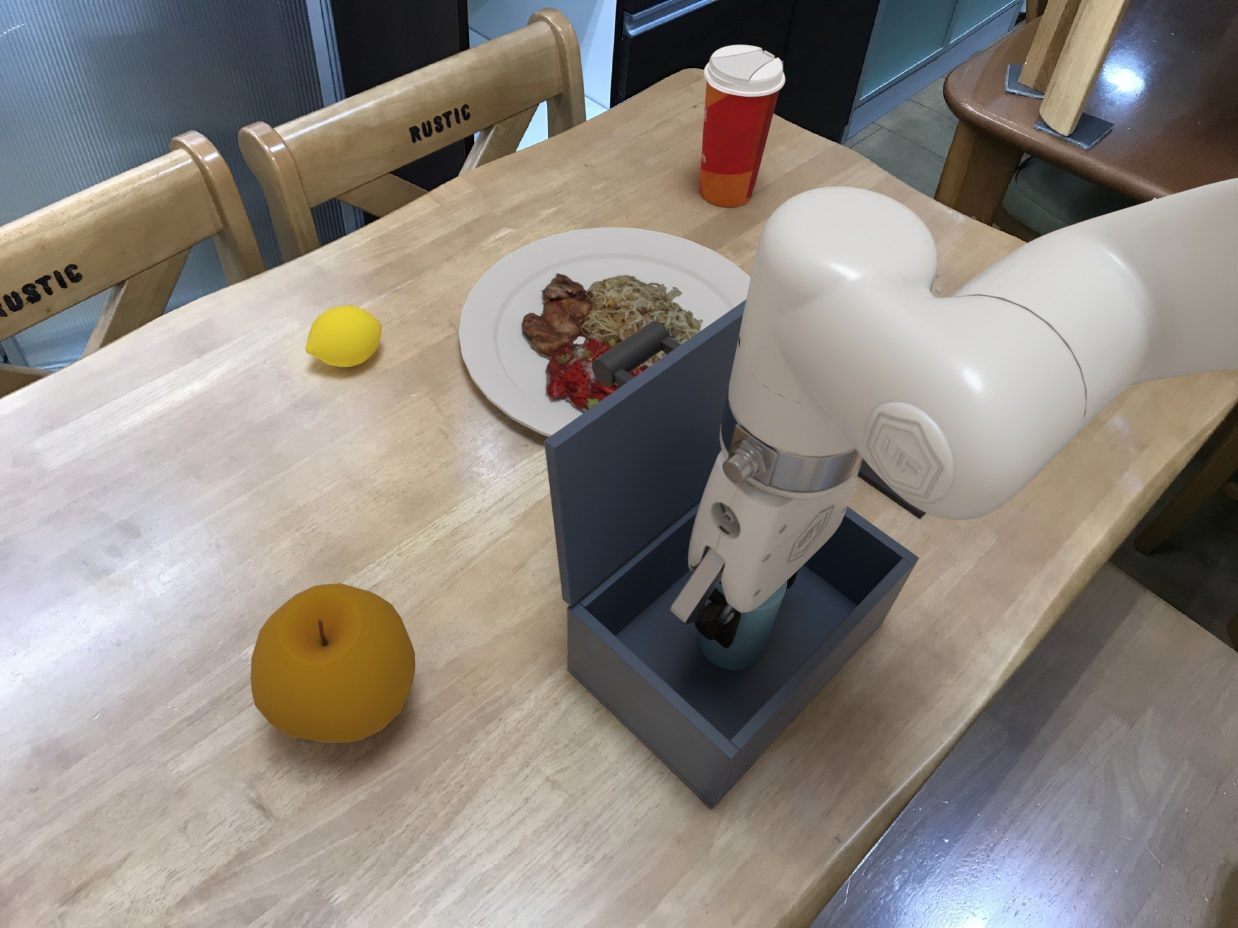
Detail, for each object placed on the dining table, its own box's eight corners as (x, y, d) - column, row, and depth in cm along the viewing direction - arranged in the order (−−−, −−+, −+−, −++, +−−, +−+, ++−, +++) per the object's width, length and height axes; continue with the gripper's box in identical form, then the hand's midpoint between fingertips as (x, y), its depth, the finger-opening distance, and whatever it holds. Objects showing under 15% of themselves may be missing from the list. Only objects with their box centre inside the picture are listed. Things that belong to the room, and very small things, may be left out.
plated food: (742, 237, 95) (747, 210, 92) (813, 451, 76) (822, 425, 74) (459, 247, 92) (456, 220, 89) (461, 474, 73) (457, 447, 70)
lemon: (375, 328, 84) (365, 283, 79) (397, 364, 81) (388, 319, 76) (302, 353, 81) (288, 308, 77) (322, 391, 78) (308, 346, 74)
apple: (278, 790, 56) (222, 716, 47) (278, 654, 62) (228, 565, 53) (433, 757, 58) (407, 679, 49) (419, 628, 64) (393, 537, 55)
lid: (792, 279, 54) (728, 246, 56) (554, 448, 45) (490, 401, 47) (767, 443, 64) (714, 410, 67) (570, 607, 55) (518, 561, 58)
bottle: (777, 640, 64) (808, 560, 56) (735, 683, 62) (760, 607, 53) (727, 598, 66) (749, 515, 58) (684, 639, 64) (701, 558, 55)
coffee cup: (726, 163, 104) (746, 34, 92) (777, 196, 100) (804, 67, 88) (673, 187, 100) (687, 57, 88) (723, 223, 96) (745, 91, 85)
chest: (883, 621, 66) (919, 557, 59) (711, 810, 57) (731, 759, 50) (743, 514, 72) (761, 444, 65) (566, 669, 63) (566, 607, 56)
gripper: (745, 567, 40) (699, 726, 54) (947, 381, 48) (861, 562, 62) (626, 472, 43) (612, 646, 57) (834, 312, 51) (777, 499, 65)
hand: (742, 601), depth 59 cm, fingers open, 5 cm apart
